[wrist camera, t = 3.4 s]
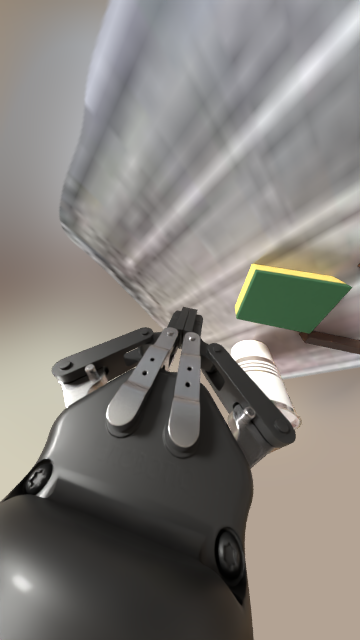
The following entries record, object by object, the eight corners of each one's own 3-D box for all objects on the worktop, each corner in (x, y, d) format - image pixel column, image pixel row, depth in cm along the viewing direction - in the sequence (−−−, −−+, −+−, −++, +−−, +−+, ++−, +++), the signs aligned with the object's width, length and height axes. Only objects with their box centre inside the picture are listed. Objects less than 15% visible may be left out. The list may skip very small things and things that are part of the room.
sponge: (251, 263, 19) (257, 271, 16) (333, 276, 18) (352, 287, 15) (234, 307, 23) (236, 318, 21) (299, 319, 22) (310, 334, 19)
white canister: (277, 365, 29) (305, 437, 19) (234, 369, 33) (240, 432, 23) (268, 329, 24) (297, 400, 15) (220, 339, 28) (220, 401, 19)
